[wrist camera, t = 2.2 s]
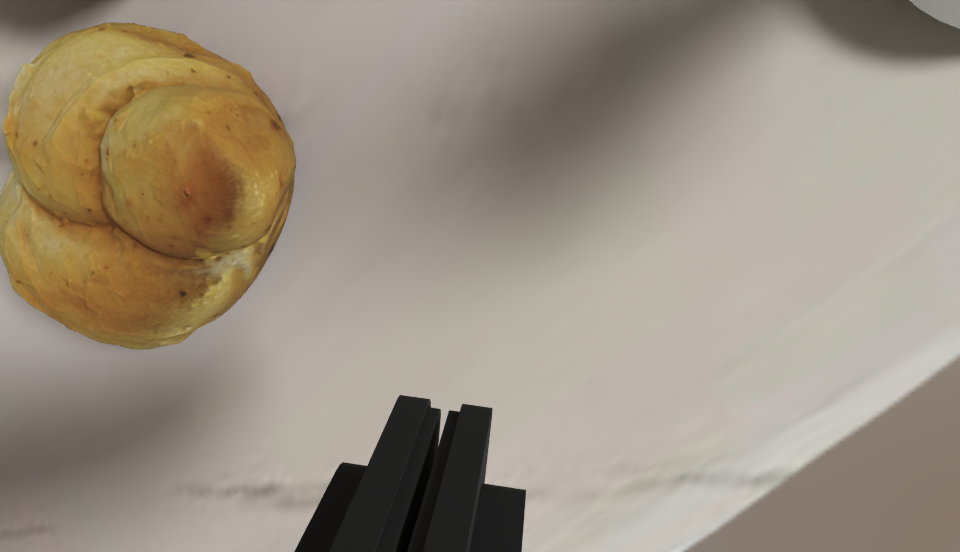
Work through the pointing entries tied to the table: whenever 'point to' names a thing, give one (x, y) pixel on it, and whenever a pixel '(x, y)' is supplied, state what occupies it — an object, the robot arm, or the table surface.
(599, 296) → the table surface
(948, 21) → the flower in vase
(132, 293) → the bread roll
